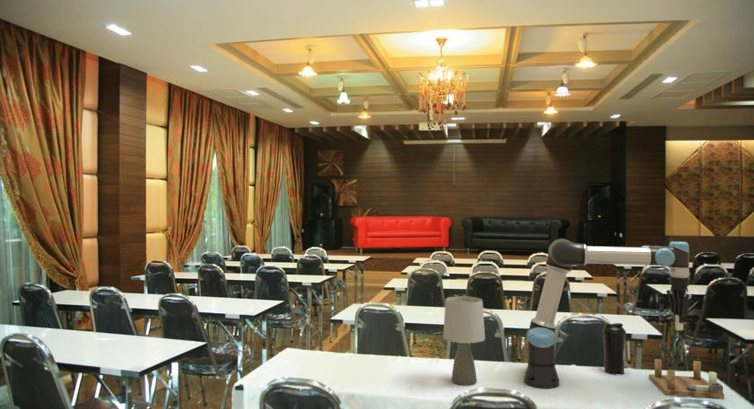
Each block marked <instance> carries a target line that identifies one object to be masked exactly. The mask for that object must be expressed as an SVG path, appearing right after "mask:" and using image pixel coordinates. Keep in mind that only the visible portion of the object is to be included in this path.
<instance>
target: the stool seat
mask: <svg viewBox="0 0 754 409" xmlns="http://www.w3.org/2000/svg"><path fill="white" fill-rule="evenodd" d="M662 362H663V361H662V359H660V358H655V359H654V374H648V380H650V381H651V382H652V384H654V385H655V386H656V387H657V388H658V389H659V390H660V391H661V392H662V394H664V395H665V396H667V395H677V396H676V397H686V396H691V397H690V398H701V397H705V398H706V399H719V400H724V399H725V394H724V386H723V384H721V383H720V382H718V381H717V385H709V381H708V380H706V379H705V378H703V377H702V373H701V372H702V371H701V370H702V368H701V367H702V366H701V365H702V364H701V363H702V362H701V361H700V360H699V361H698V360H693V361H692V362H693V363H692V364H693V369H692V370H693V371H692V372H693V373H692V374H693V376H687V375H686V376H685V375H675V372H676V371H675V369H667V370H666V375H665V374H663V370H662V369H663V365H662V364H663V363H662ZM688 384H692V385H707V386H709V391H692V390H688V389H687V385H688ZM705 398H704V399H705Z"/></svg>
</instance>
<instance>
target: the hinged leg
mask: <svg viewBox="0 0 754 409" xmlns="http://www.w3.org/2000/svg"><path fill="white" fill-rule="evenodd" d="M708 382H709V385H717V382H718V373H717V372H715V371H708ZM687 389H688V390H692V391H709V386H707V385H692V384H688V385H687Z"/></svg>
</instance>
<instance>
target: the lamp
mask: <svg viewBox="0 0 754 409" xmlns="http://www.w3.org/2000/svg"><path fill="white" fill-rule="evenodd" d="M444 304H445V305H444V320H443V333H442V334H443V335H442V336H443V340H446V341H448V342H451V343H457V347H458V348H457V351H456V353H455V357H454V360H453V367H452V370H451V371H452V372H451V382H452V383H453V384H455V385H459V386H472V385H475V384H476V383H477V382H478V379H477V371H476V365H475V360H474V357H473V353H472V351H471V346H472V344H477V343H482V342H484V341H485V340H486V334H485V333H486V332H485V320H484V319H485V318H484V317H485V316H484V304H483V299H482V298H480V297H476V296H449V297H447V298H445V302H444Z"/></svg>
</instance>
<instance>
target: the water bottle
mask: <svg viewBox="0 0 754 409" xmlns="http://www.w3.org/2000/svg"><path fill="white" fill-rule="evenodd" d="M623 326H624V324H623V323H620V322H616V323H609V322H605V323H604V327H603V328H602V329H601V330H602V336H603V360H604V364H603V366H604V372H605V373H606V374H610V375H615V376H617V375H616V374H621V375H624V374H625V355H626V336H627V332H626V331H627V330H625V328H624V327H623ZM623 373H624V374H623Z"/></svg>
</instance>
